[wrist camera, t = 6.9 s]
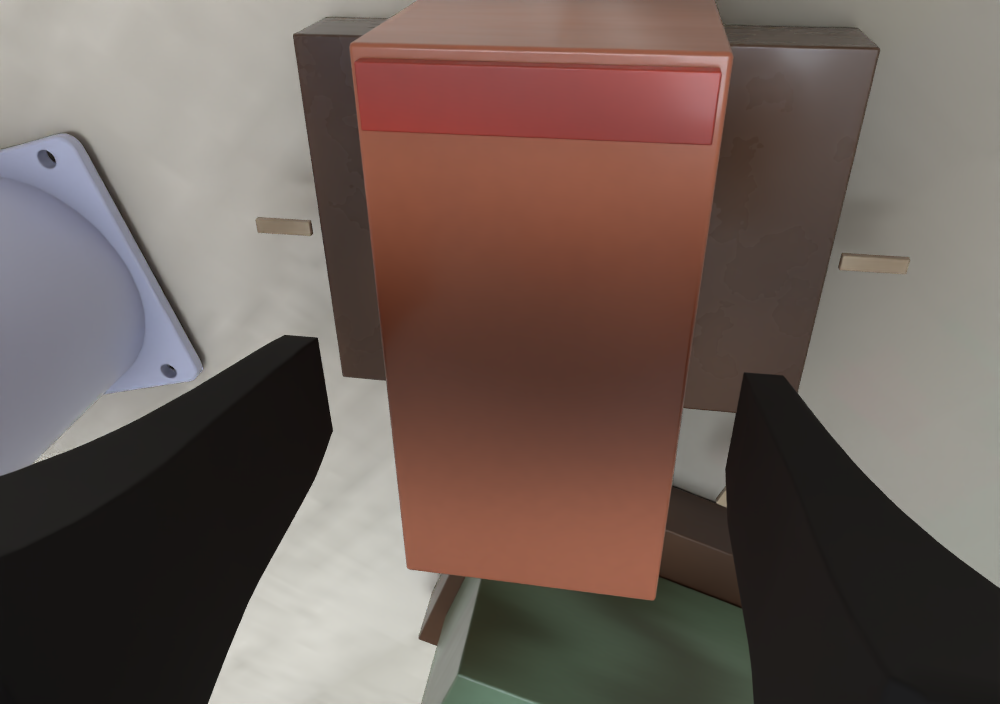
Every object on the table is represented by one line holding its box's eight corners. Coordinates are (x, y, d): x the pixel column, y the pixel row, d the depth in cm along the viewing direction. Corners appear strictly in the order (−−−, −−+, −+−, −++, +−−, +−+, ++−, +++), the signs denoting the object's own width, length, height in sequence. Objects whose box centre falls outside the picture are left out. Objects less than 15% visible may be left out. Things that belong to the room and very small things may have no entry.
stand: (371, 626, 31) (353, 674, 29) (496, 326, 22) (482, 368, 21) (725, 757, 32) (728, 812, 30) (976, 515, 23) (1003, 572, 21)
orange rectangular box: (656, 437, 21) (655, 612, 16) (459, 418, 22) (402, 578, 17) (712, -11, 15) (736, 56, 10) (437, -15, 16) (341, 45, 11)
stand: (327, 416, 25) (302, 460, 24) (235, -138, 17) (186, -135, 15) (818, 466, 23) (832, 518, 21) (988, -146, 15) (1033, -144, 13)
